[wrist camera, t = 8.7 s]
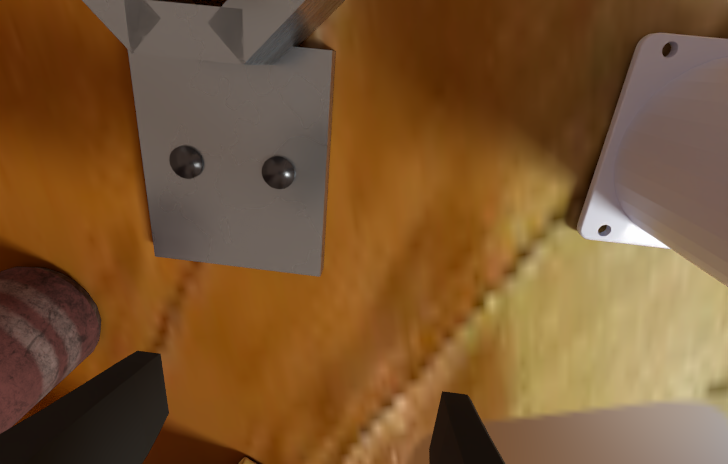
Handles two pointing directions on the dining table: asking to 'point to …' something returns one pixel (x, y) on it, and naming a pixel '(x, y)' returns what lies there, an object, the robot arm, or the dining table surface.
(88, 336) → the can
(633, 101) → the robot arm
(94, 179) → the dining table surface
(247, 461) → the candy box
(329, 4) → the bracket
